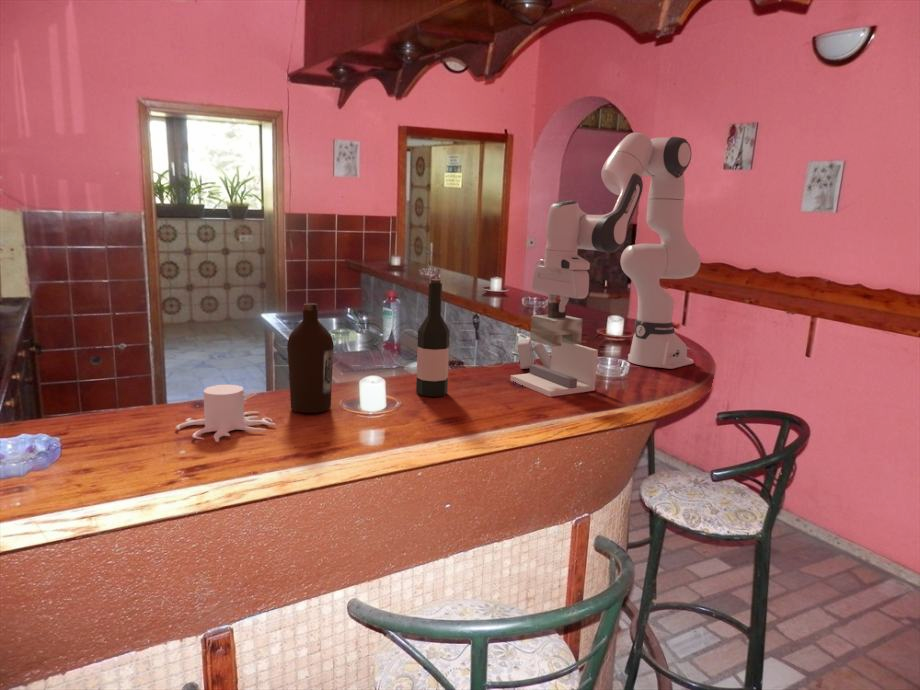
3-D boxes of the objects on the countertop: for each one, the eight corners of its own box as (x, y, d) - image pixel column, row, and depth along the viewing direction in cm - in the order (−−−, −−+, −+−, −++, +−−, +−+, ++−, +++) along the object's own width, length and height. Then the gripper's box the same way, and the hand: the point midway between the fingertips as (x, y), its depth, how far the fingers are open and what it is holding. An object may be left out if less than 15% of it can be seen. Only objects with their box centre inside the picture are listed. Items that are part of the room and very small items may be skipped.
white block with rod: (555, 372, 197) (551, 340, 195) (521, 375, 199) (517, 344, 198) (556, 366, 205) (552, 335, 203) (524, 369, 207) (520, 339, 205)
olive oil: (282, 413, 150) (281, 306, 145) (294, 399, 161) (293, 299, 156) (328, 415, 150) (328, 308, 145) (337, 401, 161) (337, 301, 156)
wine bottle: (429, 386, 178) (432, 277, 172) (453, 392, 173) (458, 280, 167) (409, 392, 171) (412, 279, 165) (434, 398, 167) (438, 282, 161)
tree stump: (285, 430, 140) (284, 394, 139) (191, 446, 129) (189, 407, 127) (252, 405, 156) (251, 373, 154) (166, 418, 144) (164, 383, 143)
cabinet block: (557, 337, 188) (560, 300, 186) (580, 343, 180) (583, 304, 178) (530, 340, 183) (532, 301, 181) (552, 346, 175) (555, 306, 173)
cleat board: (553, 375, 196) (556, 337, 194) (594, 390, 181) (598, 350, 179) (510, 380, 188) (512, 341, 186) (549, 396, 173) (552, 354, 171)
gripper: (528, 258, 184) (525, 306, 187) (576, 263, 167) (572, 316, 170) (545, 258, 188) (542, 306, 190) (594, 263, 171) (590, 315, 173)
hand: (557, 311), depth 180 cm, fingers closed on cabinet block, 2 cm apart
